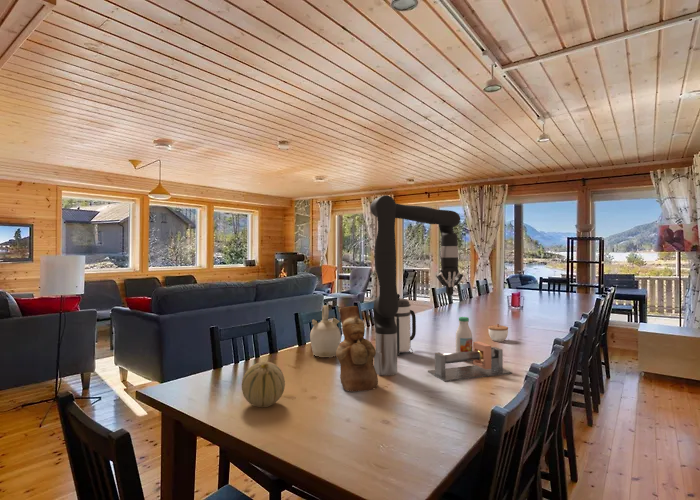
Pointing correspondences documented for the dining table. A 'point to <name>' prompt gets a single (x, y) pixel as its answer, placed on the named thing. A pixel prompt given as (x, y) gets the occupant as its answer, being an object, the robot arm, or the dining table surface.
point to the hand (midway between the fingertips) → (449, 295)
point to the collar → (486, 354)
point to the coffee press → (404, 326)
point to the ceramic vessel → (355, 353)
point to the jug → (325, 336)
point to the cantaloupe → (263, 384)
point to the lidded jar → (498, 332)
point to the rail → (467, 371)
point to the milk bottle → (463, 336)
